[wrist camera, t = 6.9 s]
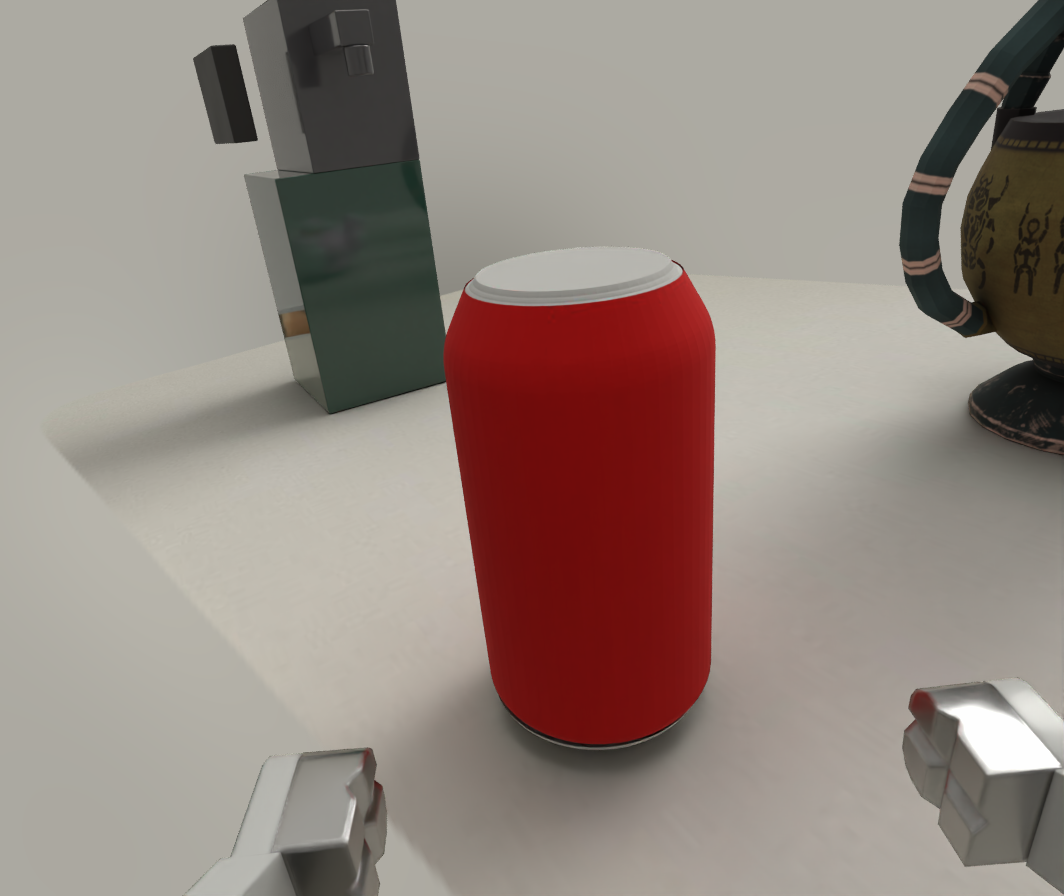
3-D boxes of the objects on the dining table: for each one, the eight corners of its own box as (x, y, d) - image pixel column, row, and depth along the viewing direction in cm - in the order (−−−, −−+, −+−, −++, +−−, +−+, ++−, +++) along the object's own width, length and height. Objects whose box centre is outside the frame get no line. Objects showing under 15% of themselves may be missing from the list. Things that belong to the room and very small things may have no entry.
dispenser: (355, 440, 39) (253, -25, 30) (294, 379, 49) (204, 19, 40) (488, 400, 42) (432, -28, 33) (405, 351, 52) (345, 13, 43)
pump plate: (234, 143, 37) (210, 45, 35) (214, 143, 42) (192, 57, 40) (258, 140, 38) (235, 44, 36) (236, 141, 43) (215, 56, 41)
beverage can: (452, 722, 20) (371, 295, 15) (562, 596, 25) (529, 237, 20) (657, 811, 17) (642, 314, 12) (740, 649, 22) (755, 240, 17)
